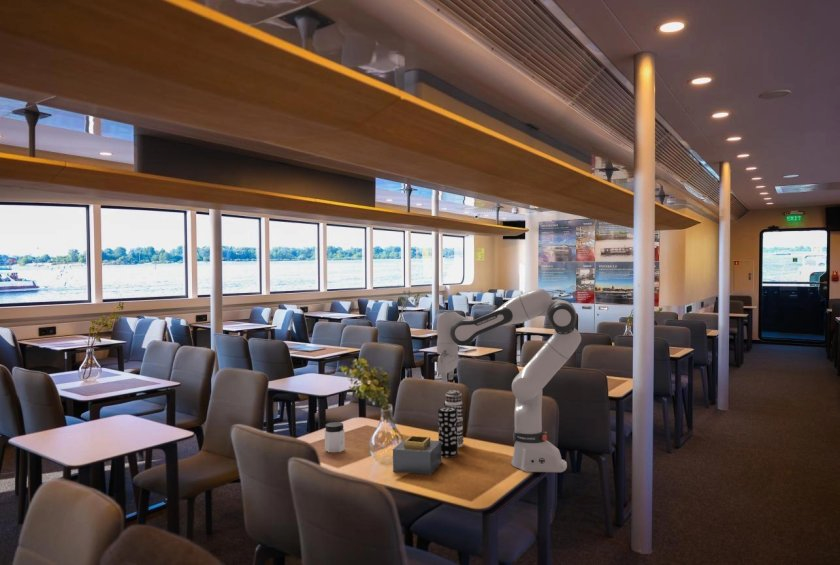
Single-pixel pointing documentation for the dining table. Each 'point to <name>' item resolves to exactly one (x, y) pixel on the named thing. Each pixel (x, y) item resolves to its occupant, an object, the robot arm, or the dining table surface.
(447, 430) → the spotted tube
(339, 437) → the jar
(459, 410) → the black and white canister
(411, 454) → the blue-grey block
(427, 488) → the dining table surface
